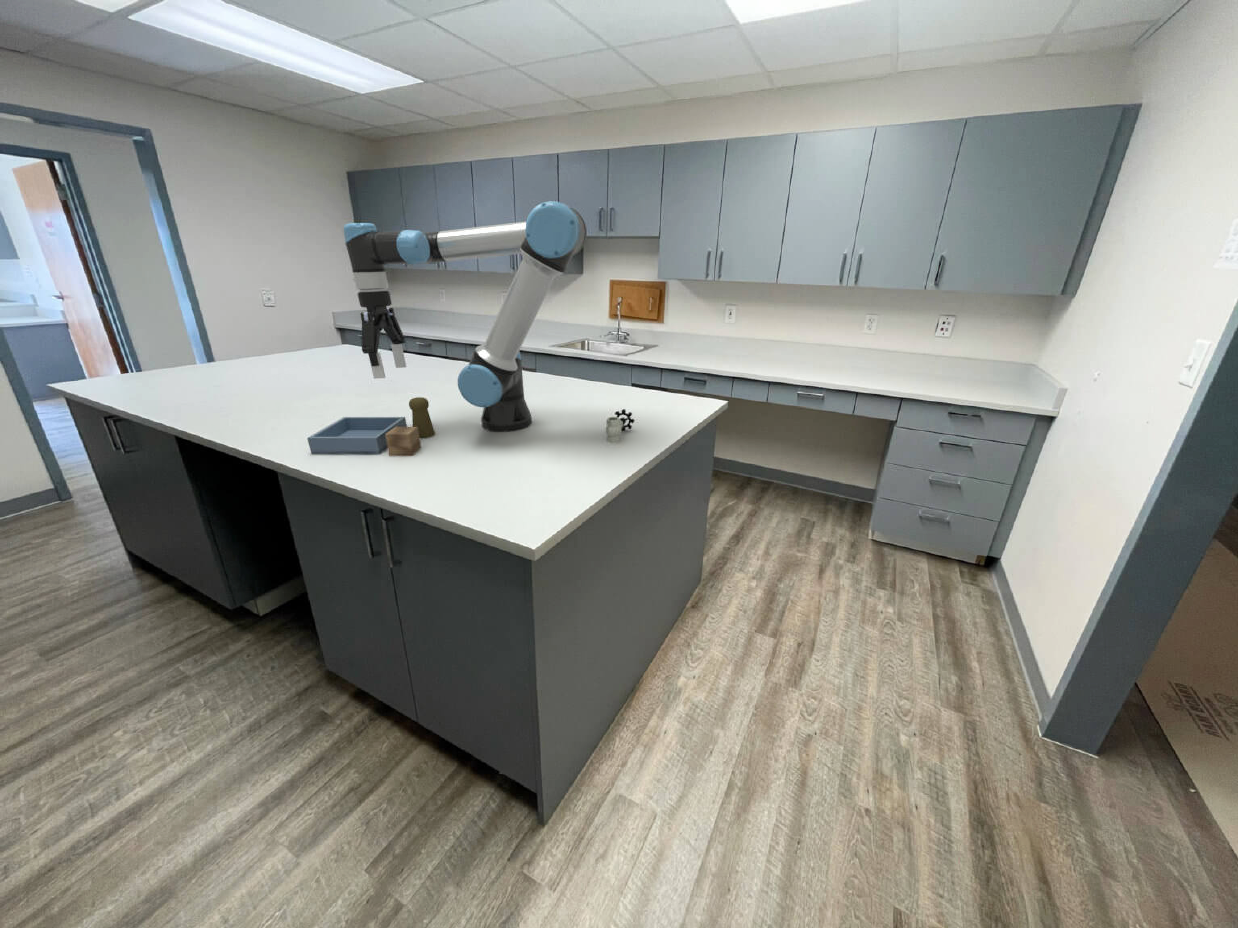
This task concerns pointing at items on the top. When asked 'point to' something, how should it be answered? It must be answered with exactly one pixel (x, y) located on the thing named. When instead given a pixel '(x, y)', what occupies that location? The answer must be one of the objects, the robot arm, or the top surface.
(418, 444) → the walnut block
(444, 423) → the top surface
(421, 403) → the cork
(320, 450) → the tray
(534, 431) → the top surface
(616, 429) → the valve
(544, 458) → the top surface
